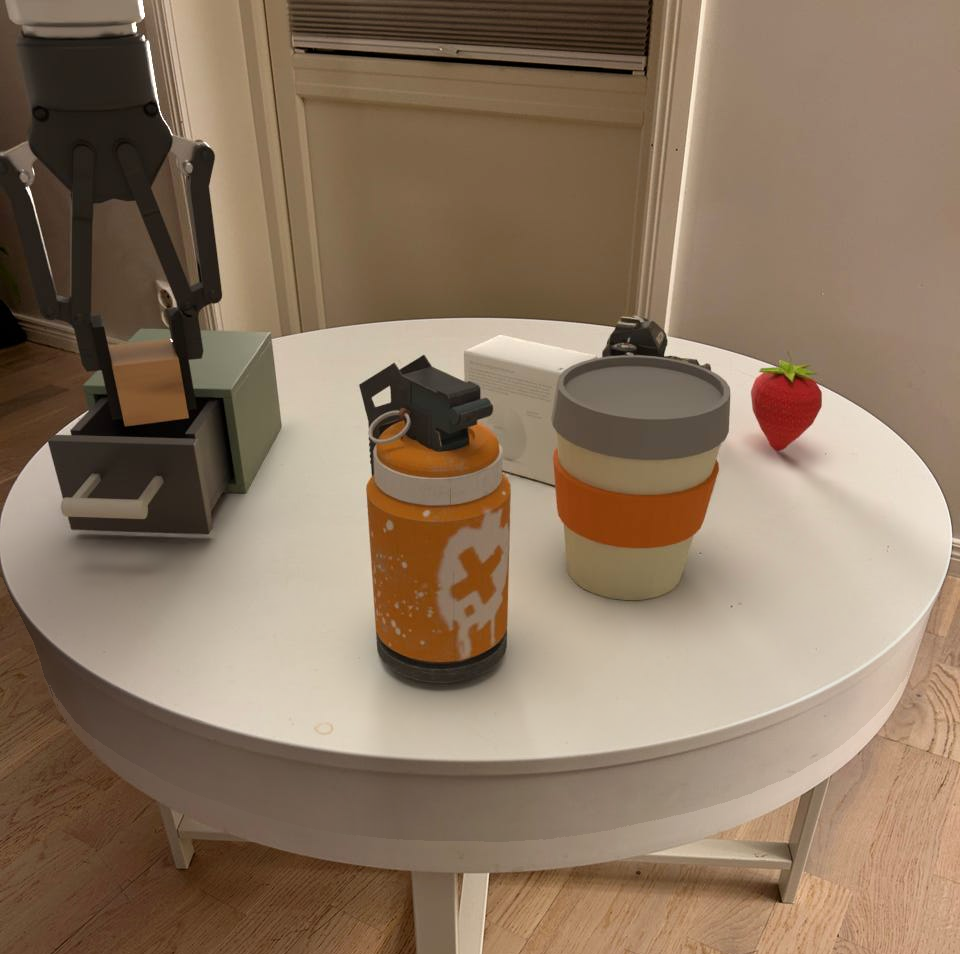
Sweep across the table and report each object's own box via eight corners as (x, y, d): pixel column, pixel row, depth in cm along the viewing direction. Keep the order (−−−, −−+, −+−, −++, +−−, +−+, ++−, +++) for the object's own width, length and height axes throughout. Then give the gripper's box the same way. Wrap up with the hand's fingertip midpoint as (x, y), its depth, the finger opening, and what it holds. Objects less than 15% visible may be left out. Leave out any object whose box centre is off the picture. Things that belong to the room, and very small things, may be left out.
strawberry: (771, 471, 92) (791, 366, 87) (728, 439, 98) (744, 338, 92) (825, 462, 94) (848, 358, 88) (780, 431, 100) (799, 332, 94)
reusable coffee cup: (676, 630, 71) (705, 435, 62) (517, 587, 76) (523, 399, 67) (724, 551, 80) (754, 371, 72) (579, 517, 85) (592, 343, 76)
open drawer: (188, 571, 76) (170, 478, 71) (41, 566, 76) (14, 473, 72) (250, 461, 91) (238, 379, 87) (128, 458, 92) (110, 376, 87)
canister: (429, 708, 64) (420, 414, 52) (335, 632, 71) (309, 357, 59) (533, 656, 69) (545, 375, 57) (435, 589, 76) (429, 326, 64)
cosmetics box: (591, 462, 94) (600, 352, 88) (557, 488, 89) (564, 374, 83) (498, 436, 98) (500, 330, 92) (461, 459, 94) (460, 350, 88)
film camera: (723, 460, 94) (740, 357, 88) (592, 459, 94) (600, 356, 88) (690, 389, 109) (703, 296, 103) (577, 388, 109) (583, 296, 103)
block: (119, 404, 73) (107, 345, 71) (181, 396, 74) (170, 338, 72) (124, 426, 70) (111, 365, 67) (188, 418, 71) (178, 358, 68)
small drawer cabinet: (246, 493, 88) (230, 389, 83) (106, 488, 89) (81, 385, 83) (282, 426, 100) (270, 331, 94) (158, 422, 101) (140, 328, 95)
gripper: (-89, 38, 53) (24, 445, 67) (240, 31, 58) (283, 410, 72) (-79, 27, 59) (23, 404, 72) (220, 22, 64) (263, 374, 77)
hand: (152, 406), depth 72 cm, fingers closed on block, 4 cm apart
